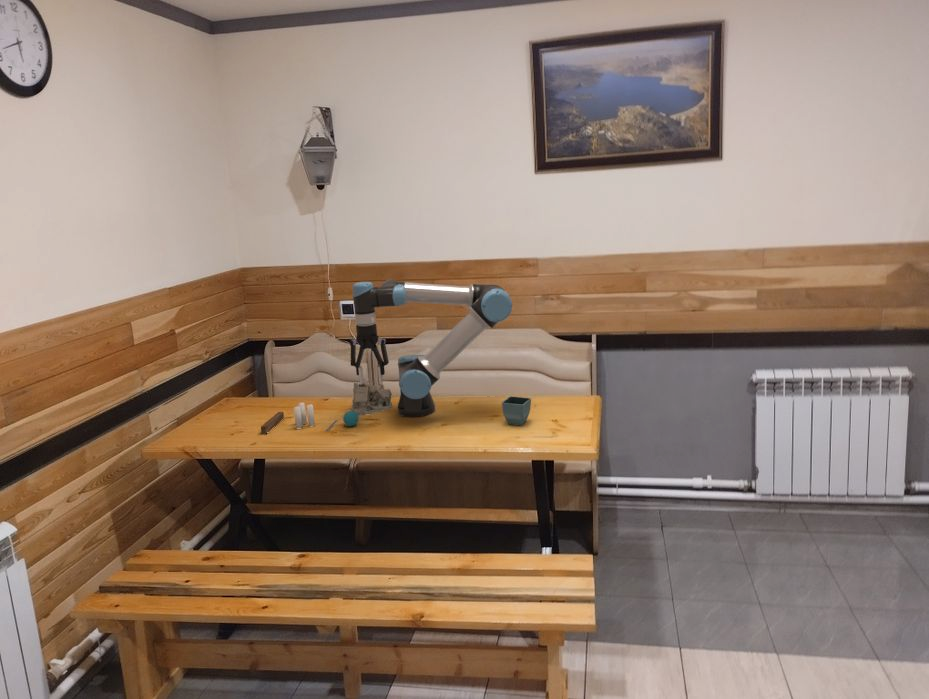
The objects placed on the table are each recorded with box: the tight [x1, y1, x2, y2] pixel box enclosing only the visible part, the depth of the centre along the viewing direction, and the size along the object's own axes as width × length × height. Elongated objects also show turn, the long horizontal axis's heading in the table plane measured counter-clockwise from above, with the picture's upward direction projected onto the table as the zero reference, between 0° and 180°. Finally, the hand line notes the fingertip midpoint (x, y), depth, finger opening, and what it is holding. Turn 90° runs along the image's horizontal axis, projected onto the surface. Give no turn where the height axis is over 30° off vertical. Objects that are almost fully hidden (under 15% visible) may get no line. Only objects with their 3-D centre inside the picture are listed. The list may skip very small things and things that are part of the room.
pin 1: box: [293, 405, 303, 429], centre depth 300 cm, size 2×2×8 cm
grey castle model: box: [350, 377, 393, 416], centre depth 318 cm, size 16×16×15 cm
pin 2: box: [297, 402, 308, 425], centre depth 305 cm, size 2×2×8 cm
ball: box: [342, 410, 360, 427], centre depth 299 cm, size 6×6×6 cm
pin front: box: [306, 404, 316, 427], centre depth 302 cm, size 2×2×8 cm
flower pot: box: [501, 395, 532, 426], centre depth 290 cm, size 9×9×9 cm
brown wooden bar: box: [260, 411, 285, 435], centre depth 305 cm, size 2×18×3 cm, turn 171°
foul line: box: [325, 419, 339, 432], centre depth 301 cm, size 1×12×1 cm, turn 171°
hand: (371, 383), depth 294 cm, fingers open, 7 cm apart
